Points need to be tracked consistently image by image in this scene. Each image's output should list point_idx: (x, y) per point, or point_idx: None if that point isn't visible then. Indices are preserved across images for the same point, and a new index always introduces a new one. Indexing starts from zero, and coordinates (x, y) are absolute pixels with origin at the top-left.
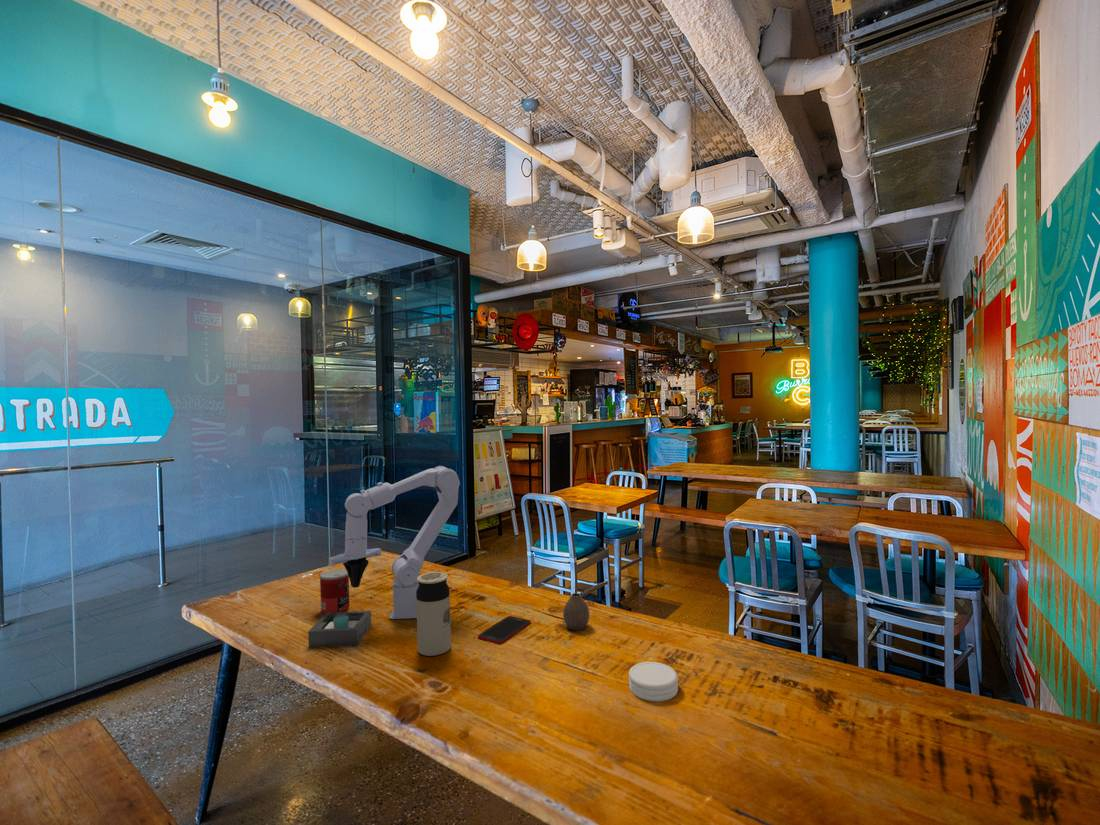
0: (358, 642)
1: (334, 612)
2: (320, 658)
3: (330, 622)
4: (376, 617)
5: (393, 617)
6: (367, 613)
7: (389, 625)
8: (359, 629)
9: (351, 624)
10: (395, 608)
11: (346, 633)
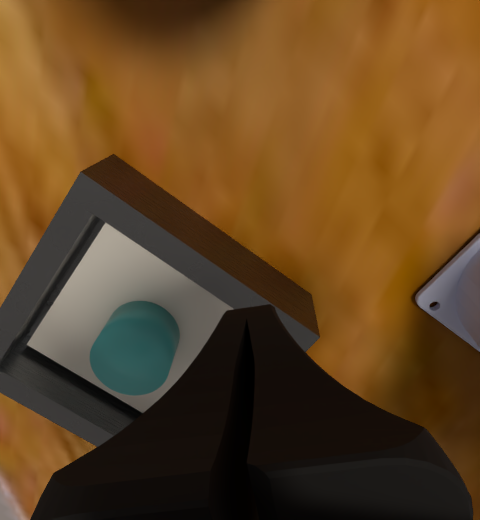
0: None
1: (127, 209)
2: (43, 436)
3: (109, 226)
4: (380, 216)
5: (432, 313)
6: None
7: (375, 353)
8: None
9: (198, 328)
10: (473, 321)
11: None
